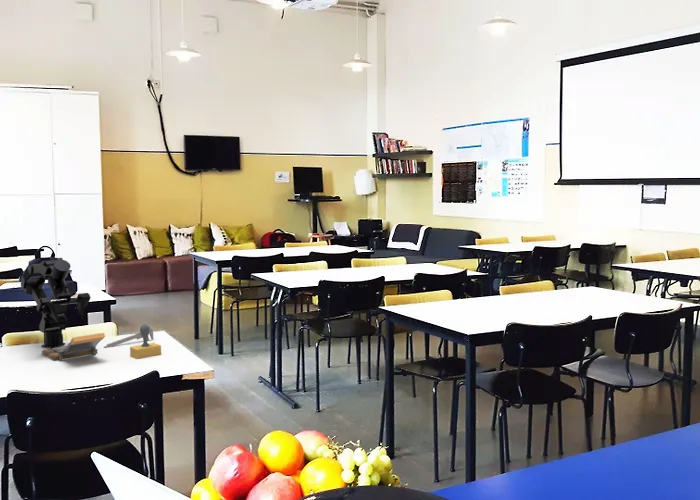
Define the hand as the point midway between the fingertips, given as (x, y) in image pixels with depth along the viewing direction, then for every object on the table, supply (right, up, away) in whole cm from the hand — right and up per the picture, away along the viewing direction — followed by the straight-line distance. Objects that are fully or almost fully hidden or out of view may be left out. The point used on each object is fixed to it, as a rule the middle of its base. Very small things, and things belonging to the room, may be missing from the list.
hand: (70, 320), depth 259 cm
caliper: (+16, -12, +19) cm, 28 cm away
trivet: (-1, -13, +2) cm, 13 cm away
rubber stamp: (+28, -14, +1) cm, 31 cm away
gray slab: (+4, -11, -3) cm, 12 cm away
